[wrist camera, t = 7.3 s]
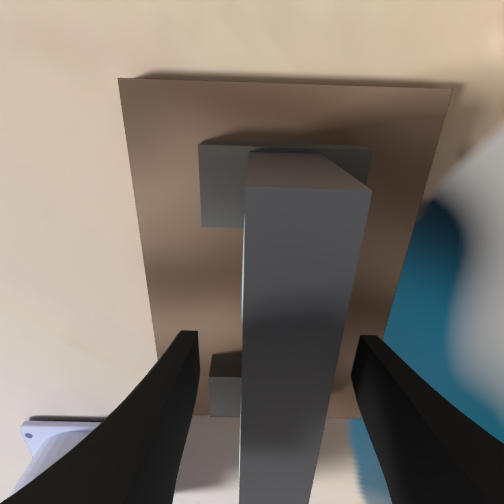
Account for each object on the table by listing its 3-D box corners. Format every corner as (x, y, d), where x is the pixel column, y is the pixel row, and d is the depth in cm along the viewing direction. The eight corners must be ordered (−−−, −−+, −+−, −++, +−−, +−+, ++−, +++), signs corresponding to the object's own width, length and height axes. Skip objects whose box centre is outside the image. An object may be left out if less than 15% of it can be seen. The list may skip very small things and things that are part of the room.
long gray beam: (289, 420, 17) (302, 537, 12) (241, 419, 17) (237, 537, 12) (322, 153, 10) (375, 190, 6) (247, 151, 10) (242, 186, 6)
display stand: (355, 404, 20) (368, 443, 17) (169, 400, 20) (158, 438, 17) (437, 90, 12) (480, 86, 10) (128, 80, 12) (98, 74, 9)
